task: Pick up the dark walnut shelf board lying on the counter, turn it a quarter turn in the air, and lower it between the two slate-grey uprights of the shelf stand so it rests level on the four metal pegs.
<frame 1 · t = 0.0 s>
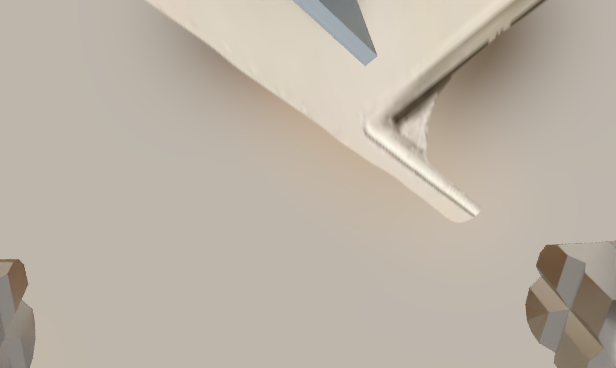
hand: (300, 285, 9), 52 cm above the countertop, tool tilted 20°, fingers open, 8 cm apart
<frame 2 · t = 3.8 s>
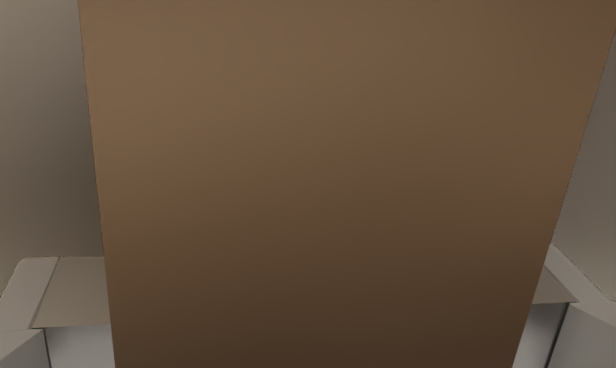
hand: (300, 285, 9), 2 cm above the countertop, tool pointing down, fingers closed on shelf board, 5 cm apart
shelf board: (285, 230, 11), on the countertop, touching gripper
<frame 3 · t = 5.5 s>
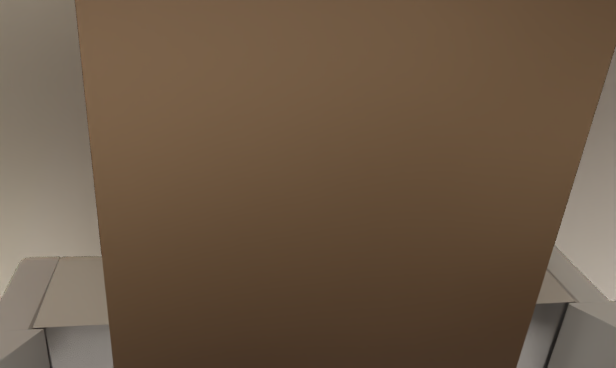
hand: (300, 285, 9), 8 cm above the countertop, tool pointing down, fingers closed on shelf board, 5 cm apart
shelf board: (286, 233, 11), point 6 cm above the countertop, touching gripper
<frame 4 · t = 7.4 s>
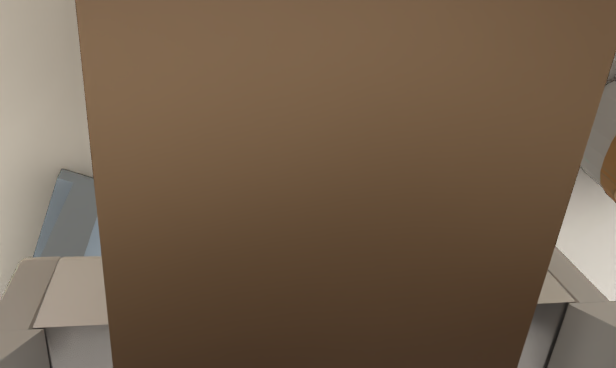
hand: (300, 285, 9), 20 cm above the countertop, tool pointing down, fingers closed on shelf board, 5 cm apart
shelf board: (286, 233, 11), point 18 cm above the countertop, touching gripper
shelf stand: (266, 309, 34), on the countertop
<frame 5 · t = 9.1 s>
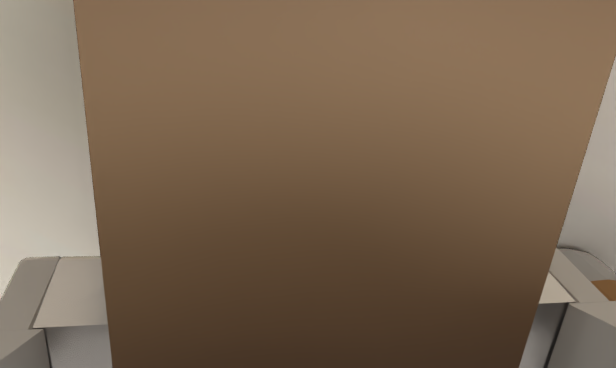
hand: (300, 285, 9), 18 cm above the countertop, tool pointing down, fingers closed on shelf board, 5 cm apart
coffee cup: (547, 287, 34), on the countertop
shelf board: (286, 234, 11), point 16 cm above the countertop, touching gripper
when the fingers open (11 cm above the countertop, at t = 10.7 s): shelf board stays where it is, resting on shelf stand.
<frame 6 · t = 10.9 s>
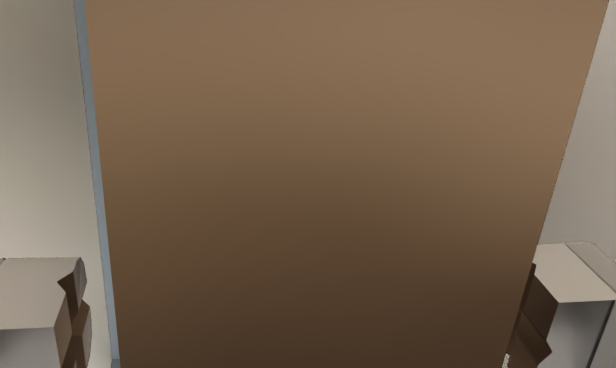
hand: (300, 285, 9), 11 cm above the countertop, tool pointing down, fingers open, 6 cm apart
shelf board: (285, 224, 11), point 9 cm above the countertop, touching shelf stand
shelf stand: (249, 78, 19), on the countertop
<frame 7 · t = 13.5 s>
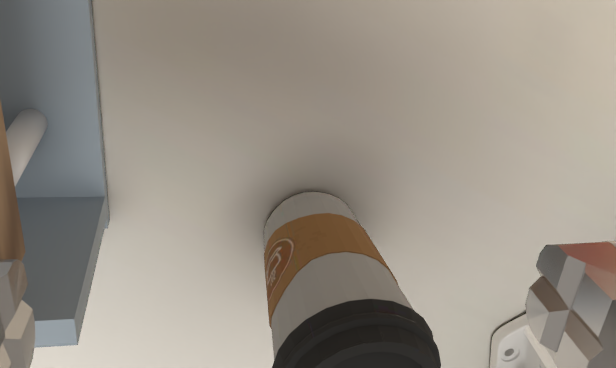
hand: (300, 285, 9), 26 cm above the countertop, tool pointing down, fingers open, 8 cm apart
coffee cup: (307, 226, 40), on the countertop
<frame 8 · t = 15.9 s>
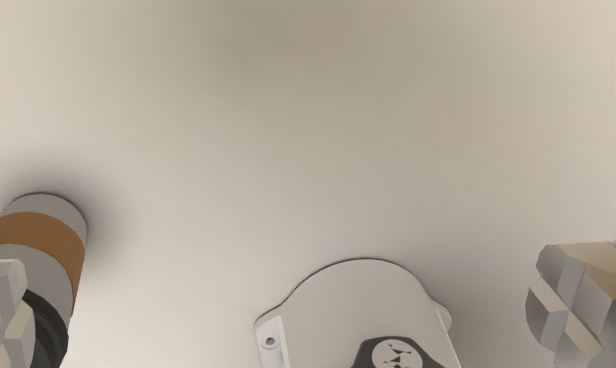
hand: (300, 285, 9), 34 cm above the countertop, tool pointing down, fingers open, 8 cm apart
coffee cup: (46, 225, 45), on the countertop
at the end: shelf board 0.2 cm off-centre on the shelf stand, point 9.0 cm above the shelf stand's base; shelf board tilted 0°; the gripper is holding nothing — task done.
